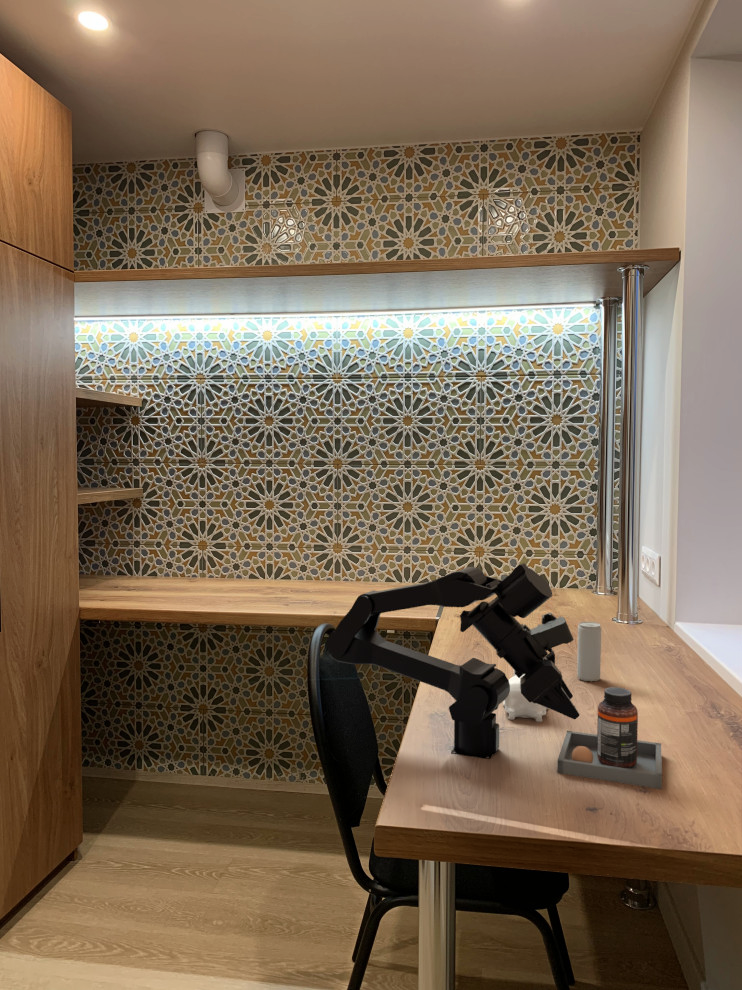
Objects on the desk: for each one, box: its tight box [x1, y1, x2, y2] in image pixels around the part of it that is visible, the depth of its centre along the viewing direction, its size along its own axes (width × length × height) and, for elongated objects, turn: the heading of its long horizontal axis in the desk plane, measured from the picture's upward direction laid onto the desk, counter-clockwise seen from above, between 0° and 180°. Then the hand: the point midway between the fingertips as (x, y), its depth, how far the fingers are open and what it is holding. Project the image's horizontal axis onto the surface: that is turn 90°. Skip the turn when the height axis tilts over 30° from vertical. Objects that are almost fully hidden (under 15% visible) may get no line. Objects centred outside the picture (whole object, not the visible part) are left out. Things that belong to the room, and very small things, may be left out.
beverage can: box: [576, 621, 602, 683], centre depth 157 cm, size 5×5×12 cm
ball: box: [572, 746, 593, 763], centre depth 111 cm, size 3×3×3 cm
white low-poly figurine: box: [502, 670, 549, 723], centre depth 138 cm, size 9×8×15 cm
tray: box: [557, 730, 663, 790], centre depth 113 cm, size 15×13×2 cm
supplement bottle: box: [596, 686, 639, 768], centre depth 113 cm, size 6×6×11 cm
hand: (573, 707), depth 114 cm, fingers open, 9 cm apart
